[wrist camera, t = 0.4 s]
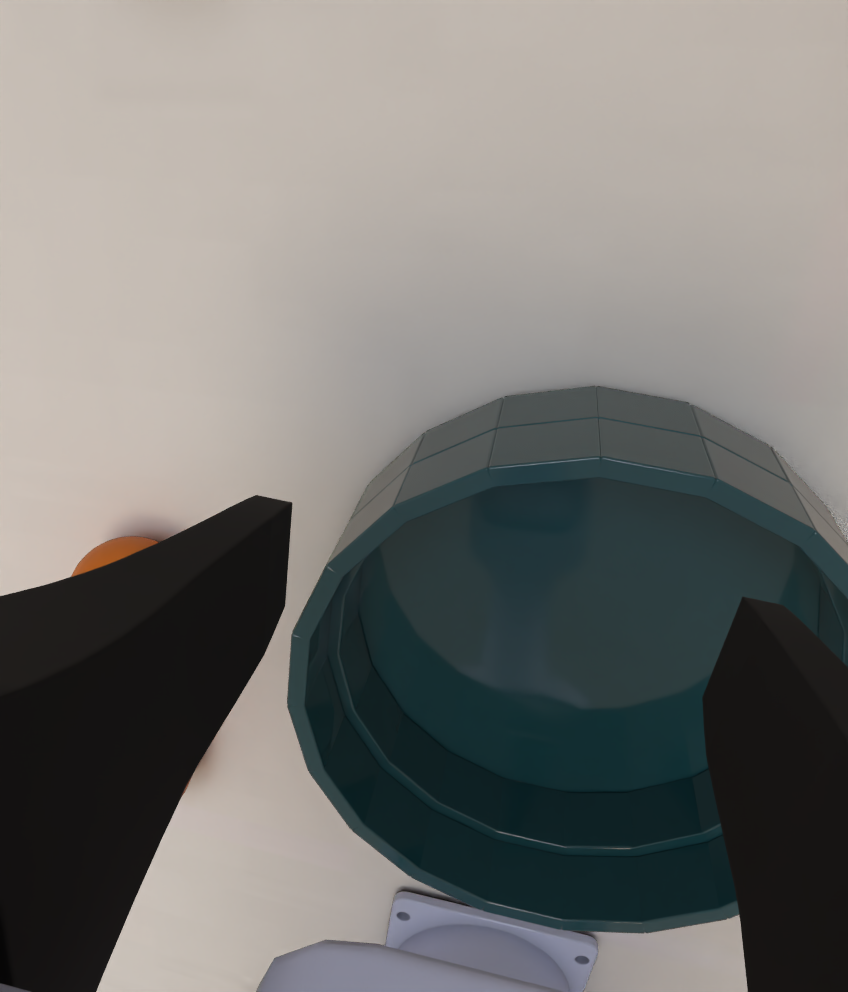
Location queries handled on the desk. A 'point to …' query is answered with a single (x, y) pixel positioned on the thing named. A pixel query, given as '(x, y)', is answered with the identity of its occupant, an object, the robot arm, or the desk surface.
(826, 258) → the desk surface
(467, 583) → the teal shallow bowl
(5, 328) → the desk surface
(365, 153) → the desk surface
